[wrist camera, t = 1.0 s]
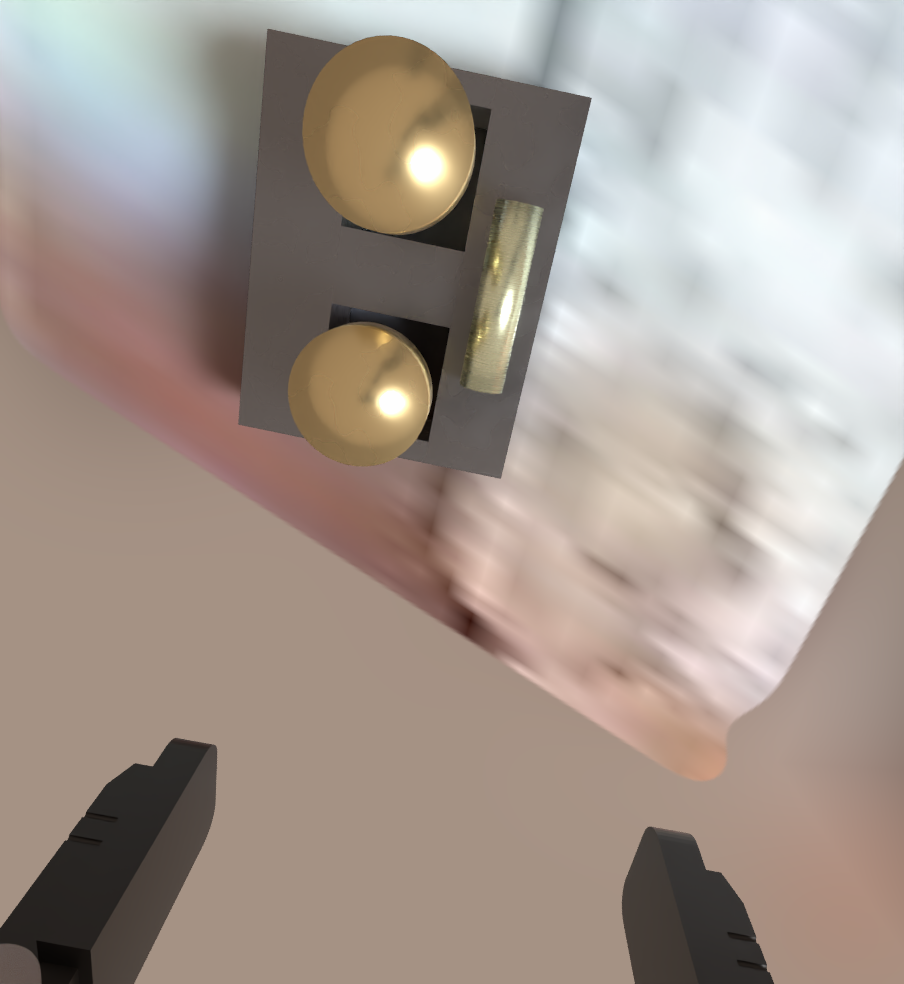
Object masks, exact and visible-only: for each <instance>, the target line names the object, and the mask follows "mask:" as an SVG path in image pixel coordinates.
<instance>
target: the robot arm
mask: <svg viewBox="0 0 904 984" xmlns="http://www.w3.org/2000/svg"><path fill="white" fill-rule="evenodd" d="M216 769H217V748H216V746H215V745H212V744H206V743H201V742H195V741H190V740H184V739H179V738H174V739H173V740H171V742H170V743H169V744H168V745H167V746H166V748H165V749H164V751H163V752H162V754H161V755H160V757H159V758H158V760H157V761H156V763H155V764H154V766H153V767H152V766H147V765H141V764H133V765H132V766H131V767H130V768H128V769H127V770H125V771H124V772H123V773H121V774H120V775H119V776H117V777H116V778H115V779H113V780H112V781H111V782H109V783H108V784H107V785H106V786H105V787H104V788H103V790H102V791H101V793H100V794H99V795H98V797H97V798H96V799H95V801H94V802H93V803H92V805H91V806H90V807H89V809H88V810H87V812H86V815H85V817H82V818H81V820H80V821H79V822H78V824H77V825H76V826H75V828H74V829H73V830H72V832H71V833H70V835H69V838H68V840H67V841H64V843H63V844H62V845H61V847H60V848H59V849H58V851H57V852H56V854H55V855H54V856H53V858H52V859H51V860H50V862H49V863H48V864H47V866H46V867H45V869H44V870H43V871H42V873H41V874H40V875H39V877H38V878H37V879H36V881H35V882H34V883H33V885H32V886H31V887H30V889H29V890H28V892H27V893H26V894H25V896H24V897H23V898H22V900H21V901H20V902H19V904H18V905H17V906H16V908H15V909H14V910H13V912H12V913H11V915H10V916H9V917H8V919H7V920H6V921H5V923H4V924H3V925H2V927H1V928H0V984H134V982H135V980H136V978H137V976H138V974H139V972H140V970H141V968H142V966H143V964H144V962H145V960H146V958H147V956H148V954H149V952H150V950H151V948H152V946H153V944H154V942H155V940H156V938H157V936H158V934H159V932H160V930H161V928H162V926H163V924H164V922H165V920H166V918H167V916H168V914H169V912H170V910H171V908H172V906H173V904H174V902H175V900H176V898H177V896H178V894H179V892H180V890H181V888H182V886H183V884H184V882H185V880H186V878H187V876H188V874H189V872H190V870H191V868H192V866H193V864H194V862H195V860H196V858H197V856H198V854H199V852H200V850H201V848H202V846H203V844H204V842H205V839H206V837H207V834H208V832H209V829H210V826H211V823H212V819H213V815H214V810H215V799H216V798H215V797H216V771H217V770H216ZM622 915H623V922H624V928H625V933H626V939H627V943H628V949H629V954H630V960H631V965H632V970H633V975H634V980H635V984H774V982H773V980H772V977H771V975H770V973H769V972H767V964H766V961H765V959H764V956H763V954H762V951H761V948H760V946H759V944H757V943H756V935H755V933H754V930H753V927H752V925H751V922H750V919H749V917H748V914H747V912H746V909H745V907H744V904H743V902H742V901H741V899H740V898H739V897H738V895H737V894H736V893H735V891H734V890H733V888H732V887H731V886H730V884H729V883H728V882H727V880H726V879H725V878H724V876H723V875H722V873H719V872H714V871H709V870H706V869H705V866H704V863H703V860H702V857H701V854H700V851H699V848H698V845H697V843H696V841H695V839H694V837H693V836H692V835H691V834H688V833H683V832H677V831H672V830H666V829H660V828H655V827H648V828H647V829H646V830H645V832H644V834H643V837H642V839H641V842H640V844H639V847H638V849H637V852H636V855H635V857H634V860H633V863H632V865H631V867H630V870H629V872H628V875H627V877H626V880H625V884H624V889H623V896H622Z"/></svg>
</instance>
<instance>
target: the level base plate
mask: <svg viewBox="0 0 904 984" xmlns="http://www.w3.org/2000/svg"><path fill="white" fill-rule="evenodd" d="M345 47H347V46H346V45H341V44H337V43H332V42H327V41H323V40H318V39H313V38H309V37H304V36H299V35H295V34H290V33H285V32H281V31H276V30H271V29H268V31H267V45H266V58H265V72H264V85H263V99H262V112H261V126H260V139H259V153H258V166H257V180H256V193H255V207H254V220H253V234H252V247H251V261H250V274H249V288H248V301H247V315H246V328H245V342H244V355H243V369H242V382H241V396H240V409H239V423H238V424H239V425H244V426H248V427H253V428H258V429H263V430H268V431H273V432H277V433H282V434H287V435H292V436H297V437H302V438H304V437H303V435H302V434H301V432H300V431H299V429H298V427H297V425H296V423H295V421H294V419H293V416H292V414H291V410H290V406H289V400H288V383H289V377H290V373H291V370H292V367H293V365H294V363H295V360H296V358H297V357H298V355H299V354H300V352H301V351H302V350H303V349H304V348H305V346H306V345H307V344H308V343H309V342H311V341H312V340H313V339H314V338H316V337H317V336H319V335H321V334H322V333H324V332H327V331H329V330H331V329H334V328H336V327H339V326H341V325H344V324H348V323H349V320H350V312H351V307H352V308H357V309H362V310H366V311H371V312H376V313H381V314H386V315H390V316H395V317H400V318H405V319H410V320H414V321H419V322H424V323H429V324H433V325H438V326H443V327H448V328H450V331H449V336H448V341H447V347H446V352H445V357H444V363H443V368H442V373H441V378H440V384H439V389H438V394H437V399H436V405H435V410H434V415H433V420H432V419H426V421H425V424H424V426H423V428H422V431H421V432H420V434H419V436H418V438H417V439H416V440H415V442H414V443H413V444H412V445H411V446H410V447H409V448H408V449H407V450H406V451H405V452H404V453H402V454H401V455H400V456H398V458H403V459H408V460H413V461H418V462H423V463H427V464H432V465H437V466H442V467H447V468H452V469H456V470H461V471H466V472H471V473H476V474H481V475H485V476H490V477H495V478H500V479H501V475H502V471H503V467H504V463H505V459H506V455H507V450H508V446H509V442H510V438H511V434H512V429H513V425H514V421H515V417H516V413H517V408H518V404H519V400H520V396H521V392H522V388H523V383H524V379H525V375H526V371H527V367H528V362H529V358H530V354H531V350H532V346H533V341H534V337H535V333H536V329H537V325H538V321H539V316H540V312H541V308H542V304H543V300H544V295H545V291H546V287H547V283H548V279H549V274H550V270H551V266H552V262H553V258H554V254H555V249H556V245H557V241H558V237H559V233H560V228H561V224H562V220H563V216H564V212H565V208H566V203H567V199H568V195H569V191H570V187H571V182H572V178H573V174H574V170H575V166H576V161H577V157H578V153H579V149H580V145H581V141H582V136H583V132H584V128H585V124H586V120H587V115H588V111H589V107H590V103H591V99H592V98H590V97H585V96H580V95H575V94H571V93H566V92H561V91H557V90H552V89H547V88H543V87H538V86H533V85H529V84H524V83H519V82H515V81H510V80H505V79H501V78H496V77H491V76H487V75H482V74H477V73H473V72H468V71H463V70H458V69H454V68H451V69H452V70H453V72H454V73H455V75H456V76H457V78H458V79H459V81H460V83H461V85H462V87H463V89H464V91H465V93H466V95H467V98H468V101H469V104H470V107H471V112H472V116H473V122H474V127H476V128H480V129H485V130H488V131H487V136H486V141H485V147H484V152H483V157H482V162H481V168H480V173H479V178H478V183H477V189H476V194H475V199H474V204H473V210H472V215H471V220H470V226H469V231H468V236H467V241H466V247H465V252H463V251H458V250H454V249H449V248H444V247H439V246H435V245H430V244H425V243H420V242H416V241H411V240H406V239H401V238H397V237H392V236H387V235H382V234H378V233H373V232H368V231H363V230H361V229H362V227H361V226H358V225H356V224H354V223H352V222H351V221H349V220H347V219H346V218H344V217H343V216H342V215H341V214H339V213H338V212H337V211H336V210H335V209H334V208H333V207H332V206H331V205H330V204H329V203H328V202H327V201H326V199H325V198H324V197H323V195H322V194H321V193H320V191H319V189H318V188H317V186H316V184H315V182H314V180H313V178H312V176H311V173H310V171H309V168H308V165H307V162H306V158H305V153H304V147H303V136H302V130H303V117H304V110H305V106H306V102H307V98H308V95H309V93H310V90H311V88H312V86H313V83H314V82H315V80H316V78H317V76H318V75H319V73H320V72H321V70H322V69H323V68H324V66H325V65H326V64H327V63H328V62H329V61H330V60H331V59H332V58H333V57H334V56H335V55H336V54H337V53H338V52H340V51H341V50H343V49H344V48H345Z"/></svg>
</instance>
